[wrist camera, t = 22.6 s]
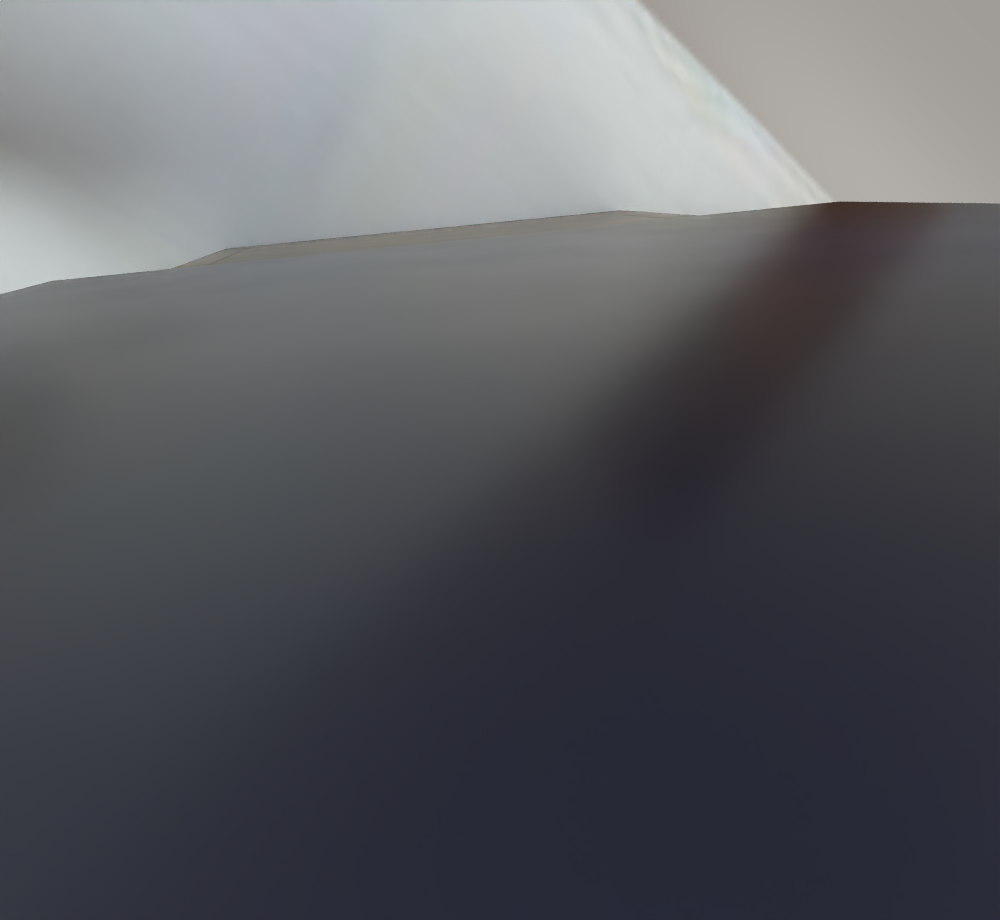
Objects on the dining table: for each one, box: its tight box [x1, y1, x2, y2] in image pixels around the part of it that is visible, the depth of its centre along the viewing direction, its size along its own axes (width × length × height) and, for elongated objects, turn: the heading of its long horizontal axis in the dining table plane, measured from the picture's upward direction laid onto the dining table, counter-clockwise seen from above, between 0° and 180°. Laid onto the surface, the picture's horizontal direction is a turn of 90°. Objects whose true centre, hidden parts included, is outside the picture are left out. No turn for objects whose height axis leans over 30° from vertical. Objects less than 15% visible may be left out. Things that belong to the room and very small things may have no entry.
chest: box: [172, 211, 696, 269], centre depth 18 cm, size 17×14×10 cm
